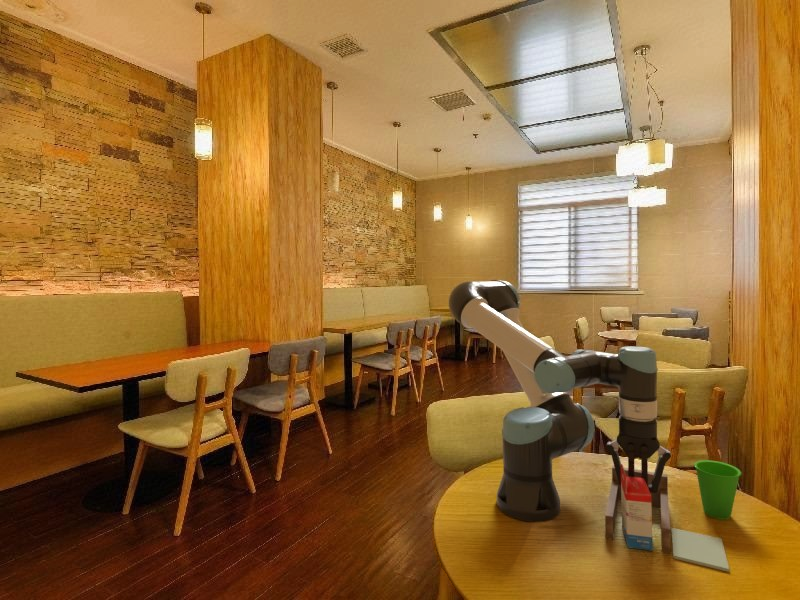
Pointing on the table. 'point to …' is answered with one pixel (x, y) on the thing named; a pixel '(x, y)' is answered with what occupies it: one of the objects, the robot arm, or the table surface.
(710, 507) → the cup
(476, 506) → the table surface
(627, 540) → the ink box
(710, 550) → the pad
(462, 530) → the table surface
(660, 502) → the slot
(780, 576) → the table surface
